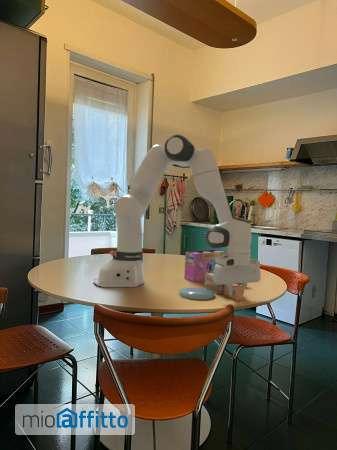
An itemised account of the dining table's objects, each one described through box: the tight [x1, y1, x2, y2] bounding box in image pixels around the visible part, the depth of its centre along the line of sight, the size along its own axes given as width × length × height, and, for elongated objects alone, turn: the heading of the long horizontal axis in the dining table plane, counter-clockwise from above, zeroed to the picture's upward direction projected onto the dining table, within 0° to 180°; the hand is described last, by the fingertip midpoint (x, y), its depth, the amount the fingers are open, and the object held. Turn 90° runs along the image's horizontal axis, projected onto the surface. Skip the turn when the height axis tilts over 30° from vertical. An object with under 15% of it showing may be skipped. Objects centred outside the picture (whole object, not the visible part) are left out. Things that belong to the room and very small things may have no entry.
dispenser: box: [204, 273, 223, 295], centre depth 135 cm, size 9×11×7 cm
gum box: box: [184, 249, 227, 283], centre depth 159 cm, size 24×8×14 cm, turn 126°
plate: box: [178, 286, 215, 301], centre depth 127 cm, size 14×14×1 cm
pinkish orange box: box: [222, 284, 245, 301], centre depth 128 cm, size 3×12×5 cm, turn 22°
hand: (236, 294), depth 125 cm, fingers closed on pinkish orange box, 3 cm apart
